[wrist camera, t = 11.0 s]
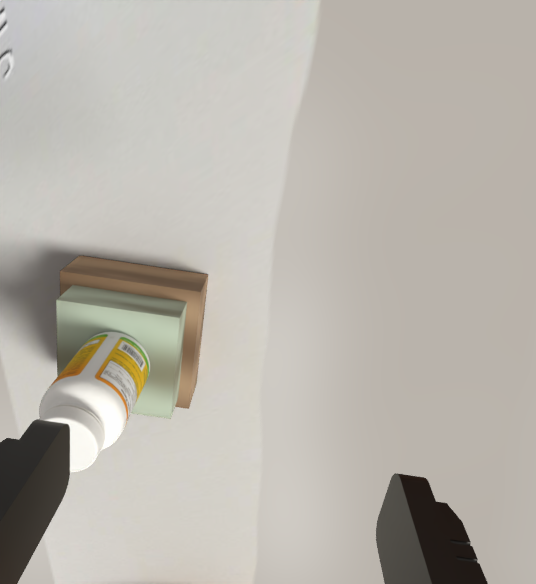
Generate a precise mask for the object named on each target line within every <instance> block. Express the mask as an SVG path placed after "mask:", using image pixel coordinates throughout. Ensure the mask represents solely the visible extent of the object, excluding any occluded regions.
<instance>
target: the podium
mask: <svg viewBox="0 0 536 584" xmlns="http://www.w3.org/2000/svg"><path fill="white" fill-rule="evenodd" d="M207 282H208V275H207V274H201V273H194V272H187V271H180V270H174V269H167V268H160V267H154V266H147V265H140V264H134V263H127V262H120V261H114V260H107V259H100V258H94V257H87V256H79V257H77V258H76V259H75V260H73V261H72V262H71V263H70V264H68V265H67V266H66V267H65V268H63V269H62V270H61V271H60V297H59V298H58V299H57V300H56V313H57V374H58V376H59V375H60V374H61V372H62V371H63V370H64V369H65V367H66V366H67V365H68V364H69V362H70V361H71V360H72V359H73V357H74V356H75V355H76V354H77V352H78V351H79V350H80V348H81V347H82V346H83V345H84V344H85V343H86V342H87V341H88V340H89V339H90V338H91V337H93V336H95V335H97V334H100V333H104V332H118V333H123V334H126V335H128V336H130V337H132V338H134V339H135V340H136V341H137V342H139V343H140V344H141V345H142V347H143V348H144V349H145V351H146V353H147V355H148V357H149V361H150V372H149V376H148V378H147V381H146V383H145V385H144V387H143V389H142V391H141V393H140V395H139V398H138V400H137V402H136V404H135V406H134V408H133V410H132V412H131V413H132V414H139V415H147V416H154V417H161V418H168V419H171V417H172V414H173V411H174V408H175V407H181V408H188V409H189V406H190V403H191V400H192V396H193V393H194V390H195V386H196V383H197V374H198V364H199V355H200V346H201V337H202V328H203V319H204V309H205V300H206V291H207Z"/></svg>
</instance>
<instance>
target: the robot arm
mask: <svg viewBox="0 0 536 584" xmlns="http://www.w3.org/2000/svg"><path fill="white" fill-rule="evenodd" d="M69 475H70V427H69V425H68V424H65V423H58V422H51V421H44V420H35V421H33V422H32V424H31V425H30V426H29V427H28V429H27V430H26V431H25V433H24V434H23V435H22V437H21V438H20V439H19V440H17V439H11V438H6V439H5V440H3V441H2V442H0V584H17V583H18V581H19V579H20V577H21V575H22V574H23V572H24V570H25V568H26V566H27V564H28V562H29V560H30V559H31V557H32V555H33V553H34V551H35V549H36V547H37V546H38V544H39V542H40V540H41V538H42V536H43V535H44V533H45V531H46V529H47V527H48V525H49V523H50V522H51V520H52V518H53V516H54V514H55V512H56V510H57V509H58V507H59V505H60V503H61V501H62V499H63V497H64V495H65V492H66V489H67V485H68V481H69ZM376 541H377V548H378V553H379V558H380V562H381V567H382V572H383V577H384V582H385V584H487V581H486V579H485V576H484V574H483V572H482V569H481V567H480V564H479V563H477V557H476V554H475V552H474V550H473V547H472V546H470V540H469V538H468V535H467V533H466V530H465V528H464V525H463V523H462V521H461V520H460V519H459V518H458V516H457V515H456V514H455V513H454V512H453V510H452V509H451V508H450V507H449V506H448V504H447V503H441V502H436V501H435V498H434V495H433V493H432V490H431V487H430V485H429V482H428V481H427V479H426V478H423V477H416V476H410V475H403V474H394V475H393V476H392V478H391V481H390V484H389V487H388V490H387V493H386V496H385V499H384V502H383V505H382V508H381V511H380V514H379V517H378V521H377V528H376Z"/></svg>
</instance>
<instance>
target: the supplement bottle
mask: <svg viewBox="0 0 536 584" xmlns="http://www.w3.org/2000/svg"><path fill="white" fill-rule="evenodd" d="M149 372H150V361H149V357H148V355H147V353H146V351H145V349H144V348H143V347H142V345H141V344H140V343H139V342H137V341H136V340H135V339H134V338H132V337H130V336H128V335H126V334H123V333H118V332H104V333H100V334H97V335H95V336H93V337H91V338H90V339H89V340H88V341H87V342H86V343H85V344H84V345H83V346H82V347H81V348H80V350H79V351H78V352H77V354H76V355H75V356H74V357H73V359H72V360H71V361H70V362H69V364H68V365H67V366H66V367H65V369H64V370H63V371H62V372H61V374H60V375H59V376H58V377H57V379H56V380H55V381H54V382H53V383H52V385H51V386H50V387H49V389H48V390H47V391H46V393H45V394H44V396H43V398H42V400H41V403H40V408H39V415H40V419H39V420H44V421H51V422H58V423H65V424H68V425H69V427H70V472H77V471H81V470H84V469H86V468H87V467H89V466H90V465H91V464H92V463H93V462H94V461H95V459H96V458H97V456H98V454H99V452H100V451H101V450H103V449H105V448H107V447H109V446H110V445H112V444H113V443H114V442H115V441H116V440H117V439H118V438H119V436H120V435H121V433H122V431H123V429H124V427H125V425H126V423H127V421H128V419H129V416H130V414H131V412H132V410H133V408H134V406H135V404H136V402H137V400H138V398H139V395H140V393H141V391H142V389H143V387H144V385H145V383H146V381H147V378H148V376H149Z"/></svg>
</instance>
